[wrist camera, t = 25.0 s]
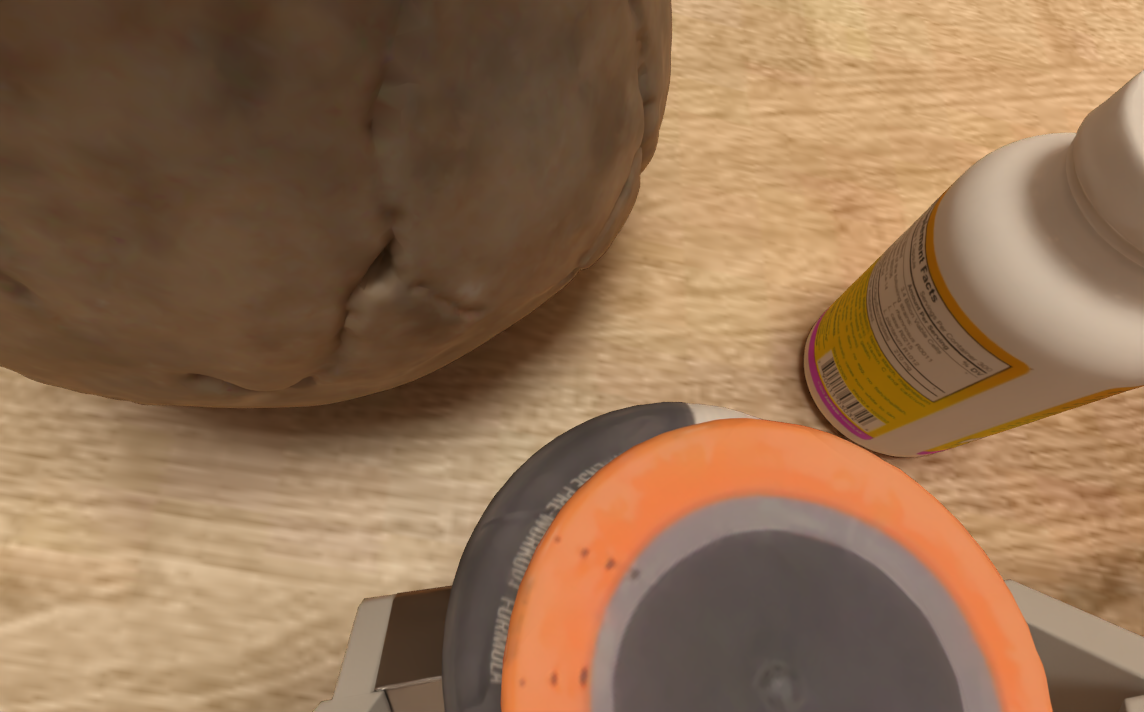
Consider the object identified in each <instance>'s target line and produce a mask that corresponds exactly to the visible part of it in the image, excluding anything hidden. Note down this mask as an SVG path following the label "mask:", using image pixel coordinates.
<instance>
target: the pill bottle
mask: <svg viewBox="0 0 1144 712" xmlns="http://www.w3.org/2000/svg"><path fill="white" fill-rule="evenodd" d="M442 689H443V699H444V708H445V712H1053V710H1052V705H1051V701H1050V696H1049V690H1048V684H1047V678H1046V674H1045V670H1044V667H1043V663H1042V661H1041V659H1040V657H1039V655H1038V653H1037V650H1036V648H1035V645H1034V642H1033V639H1032V636H1031V632H1030V629H1029V626H1028V624H1027V622H1026V621H1025V619H1024V617H1023V615H1022V613H1021V611H1020V609H1019V607H1018V605H1017V603H1016V601H1015V599H1014V597H1013V595H1012V593H1011V591H1010V590H1009V588H1008V587H1007V585H1006V584H1005V582H1004V580H1003V579H1002V577H1001V576H1000V574H999V572H998V571H997V569H996V568H995V566H994V565H993V563H992V562H991V561H990V559H989V558H988V556H987V555H986V554H985V552H984V551H983V549H982V548H981V547H980V546H979V545H978V543H977V542H976V541H975V540H974V539H973V537H972V536H971V535H970V534H969V532H968V531H967V530H966V529H965V528H964V526H963V525H962V524H961V523H960V522H959V521H958V520H957V519H956V518H955V517H954V516H953V515H952V514H951V513H950V512H949V511H948V510H947V509H946V508H945V507H944V506H943V505H942V504H941V503H940V502H939V501H938V500H937V499H936V498H935V497H934V496H932V495H931V494H930V493H929V492H928V491H927V490H925V489H924V488H923V487H922V486H921V485H919V484H918V483H917V482H916V481H915V480H913V479H912V478H911V477H909V476H908V475H907V474H905V473H904V472H903V471H902V470H900V469H899V468H897V467H895V466H893V465H891V464H889V463H887V462H885V461H884V460H882V459H880V458H879V457H878V456H876V455H875V454H873V453H871V452H869V451H867V450H866V449H864V448H862V447H860V446H858V445H856V444H853V443H851V442H849V441H847V440H844V439H842V438H840V437H838V436H835V435H833V434H831V433H827V432H824V431H820V430H817V429H814V428H810V427H806V426H802V425H796V424H790V423H783V422H776V421H770V420H763V419H760V418H757V417H754V416H751V415H748V414H745V413H743V412H739V411H736V410H732V409H728V408H724V407H718V406H712V405H704V404H689V403H683V402H661V403H653V404H645V405H636V406H632V407H628V408H624V409H620V410H616V411H612V412H609V413H606V414H603V415H601V416H598V417H595V418H593V419H590V420H588V421H586V422H584V423H582V424H580V425H578V426H576V427H574V428H572V429H570V430H569V431H567V432H565V433H563V434H562V435H560V436H558V437H557V438H555V439H554V440H552V441H551V442H549V443H548V444H547V445H545V446H544V447H542V448H541V449H540V450H539V451H537V452H536V453H535V454H534V455H532V456H531V457H530V458H529V459H528V460H527V461H526V462H525V463H524V464H523V465H522V466H521V467H520V468H519V469H518V470H517V471H516V472H514V473H513V475H512V476H511V477H510V478H509V480H508V481H507V482H506V483H505V484H504V486H503V487H502V488H501V489H500V490H499V491H498V493H497V494H496V495H495V496H494V498H493V499H492V501H491V502H490V504H489V505H488V507H487V508H486V510H485V512H484V513H483V515H482V517H481V519H480V520H479V522H478V524H477V525H476V527H475V529H474V531H473V533H472V535H471V537H470V539H469V541H468V543H467V545H466V547H465V550H464V552H463V554H462V557H461V559H460V563H459V566H458V569H457V572H456V575H455V578H454V582H453V585H452V588H451V592H450V597H449V602H448V607H447V612H446V618H445V628H444V638H443V648H442Z"/></svg>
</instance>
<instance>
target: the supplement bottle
mask: <svg viewBox="0 0 1144 712" xmlns="http://www.w3.org/2000/svg"><path fill="white" fill-rule="evenodd" d="M804 372H805V377H806V381H807V385H808V388H809V391H810V394H811V396H812V398H813V400H814V402H815V403H816V405H817V407H818V408H819V410H820V411H821V412H822V414H823V415H824V416H825V417H826V419H827V420H828V421H829V422H830V423H831V424H832V425H833V426H834V427H835V428H836V429H837V430H838V431H839V432H841V433H842V434H843V435H844V436H846V437H847V438H849V439H850V440H852V441H854V442H855V443H857V444H859V445H861V446H863V447H865V448H867V449H870V450H872V451H875V452H878V453H881V454H886V455H890V456H897V457H919V456H925V455H930V454H933V453H937V452H941V451H945V450H948V449H951V448H954V447H957V446H960V445H963V444H966V443H969V442H972V441H975V440H978V439H981V438H984V437H987V436H990V435H993V434H997V433H1000V432H1003V431H1006V430H1009V429H1012V428H1015V427H1018V426H1021V425H1024V424H1028V423H1031V422H1034V421H1036V420H1039V419H1043V418H1046V417H1049V416H1052V415H1055V414H1058V413H1061V412H1064V411H1067V410H1070V409H1073V408H1076V407H1079V406H1082V405H1085V404H1089V403H1092V402H1095V401H1098V400H1101V399H1104V398H1107V397H1110V396H1113V395H1116V394H1119V393H1122V392H1125V391H1129V390H1132V389H1135V388H1139V387H1142V386H1144V70H1143V71H1141V72H1140V73H1138V74H1137V75H1136V76H1135V77H1133V78H1132V79H1131V80H1130V81H1129V82H1127V83H1126V84H1125V85H1124V86H1123V87H1122V88H1120V89H1119V90H1118V91H1117V92H1116V93H1115V94H1113V95H1112V96H1111V97H1110V98H1109V99H1108V100H1106V101H1105V102H1104V103H1102V104H1101V105H1099V106H1098V107H1097V108H1095V109H1094V110H1093V111H1091V112H1090V113H1089V114H1088V115H1087V117H1086V118H1085V119H1084V120H1083V122H1082V124H1081V125H1080V127H1079V129H1078V131H1077V133H1052V134H1045V135H1038V136H1034V137H1029V138H1025V139H1021V140H1019V141H1016V142H1013V143H1010V144H1008V145H1005V146H1003V147H1001V148H999V149H997V150H995V151H993V152H991V153H989V154H988V155H986V156H985V157H983V158H982V159H980V160H979V161H977V162H976V163H975V164H974V165H972V166H971V167H970V168H969V169H968V170H967V171H966V172H965V173H964V174H963V175H962V176H960V177H959V178H958V179H957V180H956V181H955V182H954V183H953V184H952V185H951V186H950V187H949V188H948V189H947V190H946V191H945V192H944V193H943V194H942V195H941V196H940V197H939V198H938V199H937V200H936V201H935V202H934V203H933V204H932V205H931V206H930V207H929V209H928V210H927V211H926V212H925V213H924V214H923V215H922V216H921V217H920V218H919V219H918V220H917V221H916V222H915V223H914V224H913V225H912V226H911V227H910V228H909V229H908V230H906V231H905V232H904V233H903V234H902V235H901V236H900V237H899V238H898V239H897V240H896V241H895V242H894V243H893V244H892V245H891V246H890V247H889V248H888V249H887V250H886V251H885V252H884V253H883V254H882V255H881V256H880V257H879V258H878V259H877V260H876V261H875V262H874V263H873V264H872V265H871V266H870V267H869V268H868V269H867V270H866V271H865V272H864V273H863V274H862V275H861V276H860V277H859V278H858V279H857V280H856V281H855V282H854V283H853V284H852V285H851V286H850V287H849V288H848V289H847V290H846V291H845V292H844V293H843V294H842V295H841V296H840V297H839V298H838V299H837V300H836V301H835V302H834V303H833V304H832V305H831V306H830V307H829V308H828V309H827V310H826V311H825V312H824V313H823V315H822V316H821V317H820V318H819V319H818V320H817V322H816V323H815V324H814V326H813V328H812V330H811V332H810V334H809V336H808V338H807V341H806V345H805V352H804Z"/></svg>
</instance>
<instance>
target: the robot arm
mask: <svg viewBox="0 0 1144 712" xmlns="http://www.w3.org/2000/svg"><path fill="white" fill-rule="evenodd" d="M1004 582H1005V584H1006V585H1007V587H1008V588H1009V590H1010V591H1011V593H1012V595H1013V597H1014V599H1015V601H1016V603H1017V605H1018V607H1019V609H1020V611H1021V613H1022V615H1023V617H1024V619H1025V621H1026V622H1027V624H1028V626H1029V629H1030V632H1031V636H1032V639H1033V642H1034V645H1035V648H1036V650H1037V653H1038V655H1039V657H1040V659H1041V661H1042V663H1043V667H1044V670H1045V674H1046V678H1047V684H1048V690H1049V696H1050V701H1051V705H1052V710H1053V712H1144V637H1142V636H1140V635H1138V634H1136V633H1133V632H1131V631H1129V630H1126V629H1124V628H1122V627H1119V626H1117V625H1115V624H1112V623H1110V622H1108V621H1105V620H1103V619H1101V618H1099V617H1096V616H1094V615H1092V614H1089V613H1087V612H1085V611H1082V610H1080V609H1078V608H1075V607H1073V606H1071V605H1068V604H1066V603H1064V602H1061V601H1059V600H1057V599H1055V598H1052V597H1050V596H1048V595H1045V594H1043V593H1041V592H1038V591H1036V590H1034V589H1031V588H1029V587H1027V586H1024V585H1022V584H1020V583H1017V582H1015V581H1013V580H1011V579H1010V580H1004ZM451 588H452V586H445V587H438V588H431V589H424V590H417V591H409V592H402V593H397V594H393V595H386V596H379V597H371V598H364V600H363V601H362V603H361V604H360V606H359V607H358V609H357V613H356V616H355V620H354V623H353V627H352V630H351V634H350V637H349V641H348V644H347V648H346V651H345V655H344V659H343V662H342V666H341V669H340V673H339V676H338V680H337V683H336V687H335V690H334V694H333V697H332V699H331V700H326V701H321V702H320V703H319V704H318V706H317V707H316V708H315V709H314V710H313V711H312V712H445V708H444V699H443V689H442V648H443V638H444V628H445V618H446V612H447V607H448V602H449V597H450V592H451Z"/></svg>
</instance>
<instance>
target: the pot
mask: <svg viewBox="0 0 1144 712" xmlns="http://www.w3.org/2000/svg"><path fill="white" fill-rule="evenodd" d="M671 44H672V9H671V0H0V366H1V367H5V368H7V369H10V370H13V371H16V372H18V373H20V374H22V375H23V376H25V377H27V378H29V379H32V380H34V381H37V382H41V383H44V384H48V385H53V386H57V387H62V388H66V389H69V390H73V391H76V392H80V393H86V394H93V395H98V396H102V397H106V398H111V399H117V400H126V401H132V402H134V403H137V404H142V405H174V406H197V407H214V408H277V407H306V406H317V405H325V404H331V403H337V402H342V401H346V400H350V399H355V398H359V397H363V396H367V395H370V394H374V393H378V392H381V391H385V390H388V389H391V388H394V387H397V386H400V385H403V384H406V383H409V382H411V381H414V380H416V379H419V378H421V377H423V376H425V375H428V374H430V373H432V372H434V371H436V370H438V369H440V368H442V367H444V366H446V365H448V364H450V363H451V362H453V361H455V360H457V359H459V358H460V357H462V356H464V355H465V354H467V353H469V352H470V351H472V350H474V349H475V348H477V347H479V346H480V345H482V344H483V343H485V342H486V341H488V340H490V339H491V338H493V337H494V336H496V335H498V334H499V333H501V332H502V331H504V330H505V329H507V328H509V327H510V326H512V325H513V324H515V323H516V322H518V321H519V320H521V319H522V318H524V317H525V316H527V315H528V314H529V313H531V312H532V311H534V310H535V309H536V308H538V307H539V306H540V305H541V304H543V303H544V302H545V301H547V300H548V299H549V298H550V297H552V296H553V295H554V294H556V293H557V292H558V291H559V290H561V289H562V288H563V287H564V286H566V285H567V284H568V283H569V282H570V281H571V280H572V279H573V278H574V277H575V276H576V274H577V273H578V271H579V270H581V269H587V268H589V267H591V266H592V265H593V264H594V263H595V262H596V261H597V260H598V259H599V258H600V257H601V256H602V255H603V254H604V253H605V252H606V251H607V249H608V248H609V246H610V245H611V243H612V242H613V240H614V238H615V237H616V236H617V234H618V233H619V231H620V230H621V228H622V227H623V225H624V223H625V221H626V219H627V218H628V216H629V214H630V212H631V210H632V208H633V206H634V204H635V201H636V198H637V195H638V192H639V188H640V174H641V173H642V172H643V170H644V169H645V168H646V166H647V165H648V164H649V162H650V161H651V159H652V157H653V155H654V152H655V150H656V146H657V142H658V137H659V129H660V126H661V123H662V119H663V115H664V111H665V106H666V100H667V95H668V90H669V84H670V73H671Z"/></svg>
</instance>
